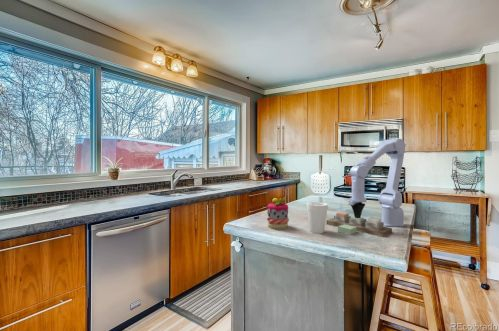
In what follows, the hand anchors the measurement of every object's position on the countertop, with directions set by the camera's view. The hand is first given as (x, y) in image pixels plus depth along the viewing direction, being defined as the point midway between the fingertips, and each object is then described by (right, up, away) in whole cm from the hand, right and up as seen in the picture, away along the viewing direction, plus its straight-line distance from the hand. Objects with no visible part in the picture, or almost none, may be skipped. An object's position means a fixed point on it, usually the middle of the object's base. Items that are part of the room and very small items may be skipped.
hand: (357, 217), depth 124 cm
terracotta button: (-5, -2, +6) cm, 8 cm away
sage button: (0, -3, 0) cm, 3 cm away
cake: (-39, -5, +3) cm, 39 cm away
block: (-7, -5, -6) cm, 11 cm away
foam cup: (-21, -5, -5) cm, 23 cm away
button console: (0, -5, 0) cm, 5 cm away
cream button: (+5, -2, -6) cm, 8 cm away
